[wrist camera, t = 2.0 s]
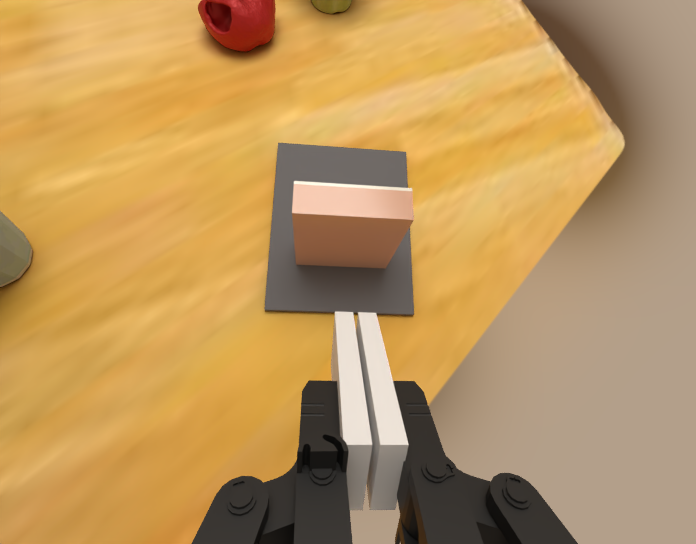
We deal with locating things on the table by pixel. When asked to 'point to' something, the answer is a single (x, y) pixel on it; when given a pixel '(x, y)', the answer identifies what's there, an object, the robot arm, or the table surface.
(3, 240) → the disposable coffee cup
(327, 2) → the plant pot
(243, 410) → the table surface
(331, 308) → the mat
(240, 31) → the pomegranate
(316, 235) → the tile
